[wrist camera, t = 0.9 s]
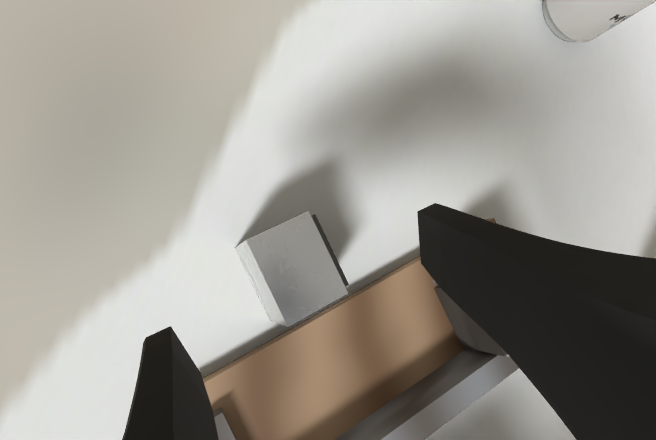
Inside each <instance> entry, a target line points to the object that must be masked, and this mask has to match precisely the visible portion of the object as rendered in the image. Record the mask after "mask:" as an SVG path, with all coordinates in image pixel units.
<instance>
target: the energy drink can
mask: <svg viewBox="0 0 656 440" xmlns="http://www.w3.org/2000/svg"><path fill="white" fill-rule="evenodd" d="M655 1H656V0H544V1H543V14H544V18H545V21H546V23H547V25H548V26H549V28H550V29H551V31H552V32H553V33H554V34H555V35H556V36H558V37H559V38H561V39H562V40H565V41H568V42H576V41H578V42H587V41H590V40H592V39H594V38H596V37H598V36H599V35H601V34H602V33H604V32H606V31H607V30H609V29H611V28H612V27H614V26H616V25H617V24H619V23H621V22H622V21H624V20H626V19H627V18H629V17H630V16H632V15H634V14H635V13H637V12H639V11H640V10H642V9H644V8H645V7H647V6H649V5H650V4H652V3H654V2H655Z"/></svg>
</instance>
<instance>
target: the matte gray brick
mask: <svg viewBox="0 0 656 440" xmlns="http://www.w3.org/2000/svg"><path fill="white" fill-rule="evenodd" d="M235 249H236V251H237V253H238V255H239V257H240V260H241V262H242V264H243V266H244V268H245V270H246V272H247V274H248V276H249V278H250V280H251V282H252V284H253V286H254V289H255V291H256V293H257V295H258V297H259V299H260V301H261V303H262V305H263V307H264V309H265V311H266V313H267V315H268V318H269V320H271V321H274V322H276V323H279V324H281V325H283V326H286V327H289V326H291V325H293V324H295V323H297V322H298V321H300V320H302V319H304V318H305V317H307V316H309V315H311V314H313V313H314V312H316V311H318V310H320V309H321V308H323V307H325V306H327V305H329V304H330V303H332V302H334V301H336V300H337V299H339V298H341V297H343V296H345V295H346V294H348V291H347V289H346V286H347V285H349V284H348V282H347V280H346V278H345V276H344V274H343V271H342V269H341V267H340V265H339V263H338V261H337V259H336V257H335V255H334V253H333V251H332V249H331V246H330V244H329V242H328V240H327V238H326V236H325V234H324V232H323V230H322V228H321V226H320V224H319V222H318V219H317V217H316V215H315V214H314V215H312V216H311V215H310V212H309V211H307V212H304V213H302V214H300V215H298V216H296V217H294V218H292V219H289V220H287V221H285V222H283V223H281V224H279V225H277V226H274V227H272V228H270V229H268V230H266V231H264V232H262V233H259V234H257V235H255V236H253V237H251V238H249V239H247V240H245V241H244V242H242V243H241V244H240V245H238V246H237V247H236V248H235Z"/></svg>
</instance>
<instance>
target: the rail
mask: <svg viewBox="0 0 656 440" xmlns="http://www.w3.org/2000/svg"><path fill="white" fill-rule="evenodd" d="M487 221H490V222H493V223H496V222H495V220H494V218H492V219H487ZM518 368H519V367H518V366H517V364H516V363H515V362H514V361H513V360H512V359H511V357H510V356H509V355H508V354H507V353H506V352H505V351H504V350H503V349H502V348H501V347H500V346H499V345H498V344H497V343H496V342H495V341H494V340H493V339H492V338H491V337H490V336H489V335H488V334H487V333H486V332H485V331H484V330H483V329H482V328H481V327H480V326H479V325H478V324H477V323H476V322H475V321H474V320H472V319H471V318H470V317H469V316H468V315H467V314H466V313H465V312H464V311H463V310H462V309H461V308H460V307H459V306H458V305H457V304H456V303H455V302H454V301H453V300H452V299H451V298H450V297H449V296H448V295H447V294H446V293H445V292H444V291H443V290H442V289H441V288H440V287H439V286H438V284H437V283H436V282H435V281H434V279H433V278H432V277H431V276H430V274H429V273H428V272H427V270H426V269H425V268H424V267H423V265H422V264H421V257H420V256H419V257H417V258H416V259H414V260H412V261H410V262H408V263H407V264H405V265H403V266H401V267H400V268H398V269H396V270H394V271H392V272H391V273H389V274H387V275H385V276H384V277H382V278H380V279H378V280H377V281H375V282H373V283H371V284H369V285H368V286H366V287H364V288H362V289H361V290H359V291H357V292H355V293H354V294H352V295H350V296H348V297H346V298H345V299H343V300H341V301H339V302H338V303H336V304H334V305H332V306H331V307H329V308H327V309H325V310H323V311H322V312H320V313H318V314H316V315H315V316H313V317H311V318H309V319H307V320H306V321H304V322H302V323H300V324H299V325H297V326H295V327H293V328H292V329H290V330H288V331H286V332H284V333H283V334H281V335H279V336H277V337H276V338H274V339H272V340H270V341H269V342H267V343H265V344H263V345H261V346H260V347H258V348H256V349H254V350H253V351H251V352H249V353H247V354H246V355H244V356H242V357H240V358H238V359H237V360H235V361H233V362H231V363H230V364H228V365H226V366H224V367H222V368H221V369H219V370H217V371H215V372H214V373H212V374H210V375H208V376H207V377H205V378H203V382H204V385H205V388H206V391H207V394H208V397H209V400H210V403H211V406H212V409H213V414H214V419H215V424H216V428H217V433H218V438H219V440H424V439H426V438H427V437H428V436H430V435H431V434H432V433H434V432H435V431H436V430H437V429H439V428H440V427H441V426H443V425H444V424H445V423H447V422H448V421H449V420H451V419H452V418H453V417H455V416H456V415H457V414H459V413H460V412H461V411H463V410H464V409H465V408H467V407H468V406H469V405H471V404H472V403H473V402H475V401H476V400H477V399H479V398H480V397H481V396H483V395H484V394H485V393H487V392H488V391H489V390H491V389H492V388H493V387H495V386H496V385H497V384H499V383H500V382H501V381H503V380H504V379H505V378H506V377H508V376H509V375H510V374H512V373H513V372H514V371H516V370H517V369H518Z"/></svg>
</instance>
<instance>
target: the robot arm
mask: <svg viewBox="0 0 656 440" xmlns="http://www.w3.org/2000/svg"><path fill="white" fill-rule="evenodd" d="M418 226H419V242H420V257H421V264H422V265H423V267H424V268H425V269H426V270H427V272H428V273H429V274H430V276H431V277H432V278H433V279H434V281H435V282H436V283H437V284H438V286H439V287H440V288H441V289H442V290H443V291H444V292H445V293H446V294H447V295H448V296H449V297H450V298H451V299H452V300H453V301H454V302H455V303H456V304H457V305H458V306H459V307H460V308H461V309H462V310H463V311H464V312H465V313H466V314H467V315H468V316H469V317H470V318H471V319H472V320H474V321H475V322H476V323H477V324H478V325H479V326H480V327H481V328H482V329H483V330H484V331H485V332H486V333H487V334H488V335H489V336H490V337H491V338H492V339H493V340H494V341H495V342H496V343H497V344H498V345H499V346H500V347H501V348H502V349H503V350H504V351H505V352H506V353H507V354H508V355H509V356H510V357H511V359H512V360H513V361H514V362H515V363H516V364H517V366H518V367H519V368H520V369H521V370H522V371H523V373H524V374H525V375H526V376H527V377H528V378H529V380H530V381H531V382H532V383H533V385H534V386H535V387H536V388H537V389H538V391H539V392H540V393H541V394H542V396H543V397H544V398H545V399H546V401H547V402H548V403H549V404H550V406H551V407H552V408H553V409H554V410H555V412H556V413H557V414H558V416H559V417H560V418H561V420H562V421H563V422H564V424H565V425H566V426H567V428H568V429H569V430H570V431H571V433H572V434H573V435H574V437H575V438H576V439H577V440H656V259H655V258H646V257H638V256H631V255H625V254H618V253H611V252H605V251H600V250H594V249H590V248H585V247H580V246H575V245H570V244H566V243H562V242H557V241H553V240H550V239H546V238H542V237H539V236H535V235H531V234H528V233H524V232H521V231H518V230H514V229H511V228H508V227H505V226H502V225H499V224H496V223H493V222H490V221H487V220H484V219H481V218H478V217H475V216H472V215H469V214H466V213H464V212H461V211H458V210H455V209H452V208H449V207H446V206H443V205H439V204H436V203H435V204H433V205H430V206H428V207H426V208H424V209H422V210H420V211H418ZM122 440H219V438H218V433H217V428H216V424H215V419H214V414H213V409H212V406H211V403H210V400H209V397H208V394H207V391H206V388H205V385H204V382H203V379H202V376H201V373H200V372H199V370H198V368H197V367H196V365H195V364H194V362H193V361H192V359H191V357H190V356H189V354H188V353H187V351H186V350H185V348H184V346H183V345H182V343H181V342H180V340H179V339H178V337H177V335H176V334H175V332H174V331H173V329H172V328H171V326H170V327H168V328H166V329H164V330H161V331H159V332H157V333H155V334H153V335H151V336H149V337H146V339H145V341H144V343H143V349H142V356H141V362H140V367H139V373H138V378H137V383H136V387H135V392H134V397H133V401H132V405H131V409H130V413H129V417H128V421H127V425H126V429H125V433H124V436H123V439H122Z"/></svg>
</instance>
